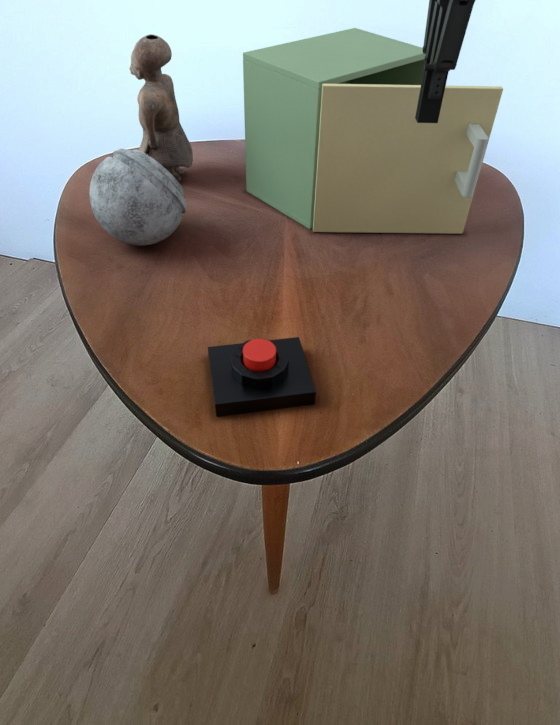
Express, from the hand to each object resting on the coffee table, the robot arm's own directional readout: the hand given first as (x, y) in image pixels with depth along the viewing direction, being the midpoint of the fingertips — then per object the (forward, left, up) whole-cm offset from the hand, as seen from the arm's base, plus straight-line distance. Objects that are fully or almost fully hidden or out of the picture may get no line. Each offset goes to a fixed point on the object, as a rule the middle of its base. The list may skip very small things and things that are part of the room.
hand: (426, 120), depth 74 cm
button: (+26, +23, -19) cm, 40 cm away
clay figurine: (+35, -35, -23) cm, 55 cm away
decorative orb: (+40, -13, -23) cm, 48 cm away
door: (-1, -6, -22) cm, 23 cm away
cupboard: (+5, -26, -22) cm, 35 cm away
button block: (+26, +23, -22) cm, 41 cm away
